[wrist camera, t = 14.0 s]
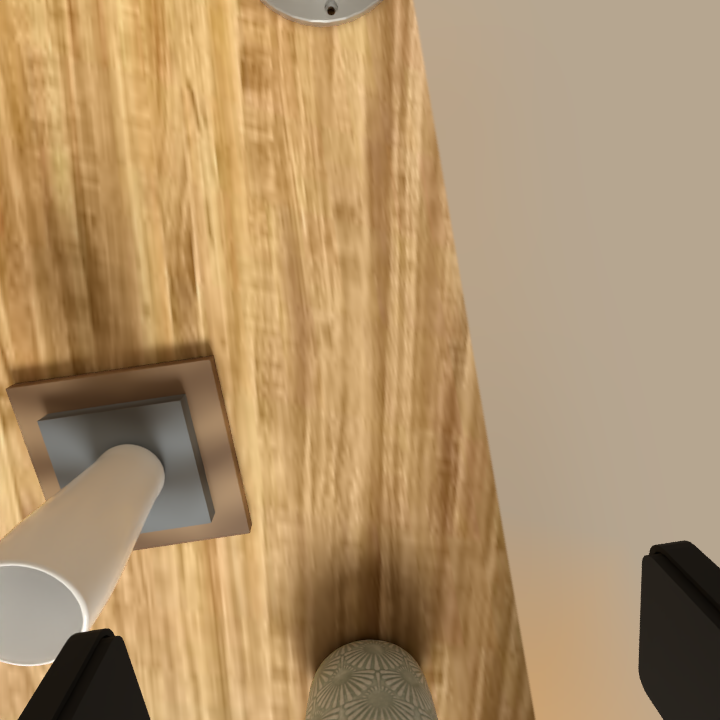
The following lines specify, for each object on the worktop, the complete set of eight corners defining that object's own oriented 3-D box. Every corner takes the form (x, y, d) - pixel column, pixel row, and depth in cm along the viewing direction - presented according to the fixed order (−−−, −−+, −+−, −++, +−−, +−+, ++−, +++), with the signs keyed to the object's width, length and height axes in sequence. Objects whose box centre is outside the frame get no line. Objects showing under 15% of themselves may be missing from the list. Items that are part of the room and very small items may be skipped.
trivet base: (15, 384, 40) (-7, 395, 37) (213, 355, 40) (205, 365, 38) (73, 551, 45) (58, 572, 42) (251, 524, 45) (247, 543, 42)
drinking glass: (193, 469, 40) (116, 611, 26) (141, 523, 41) (38, 689, 27) (124, 415, 38) (0, 535, 24) (71, 474, 40) (-78, 621, 25)
